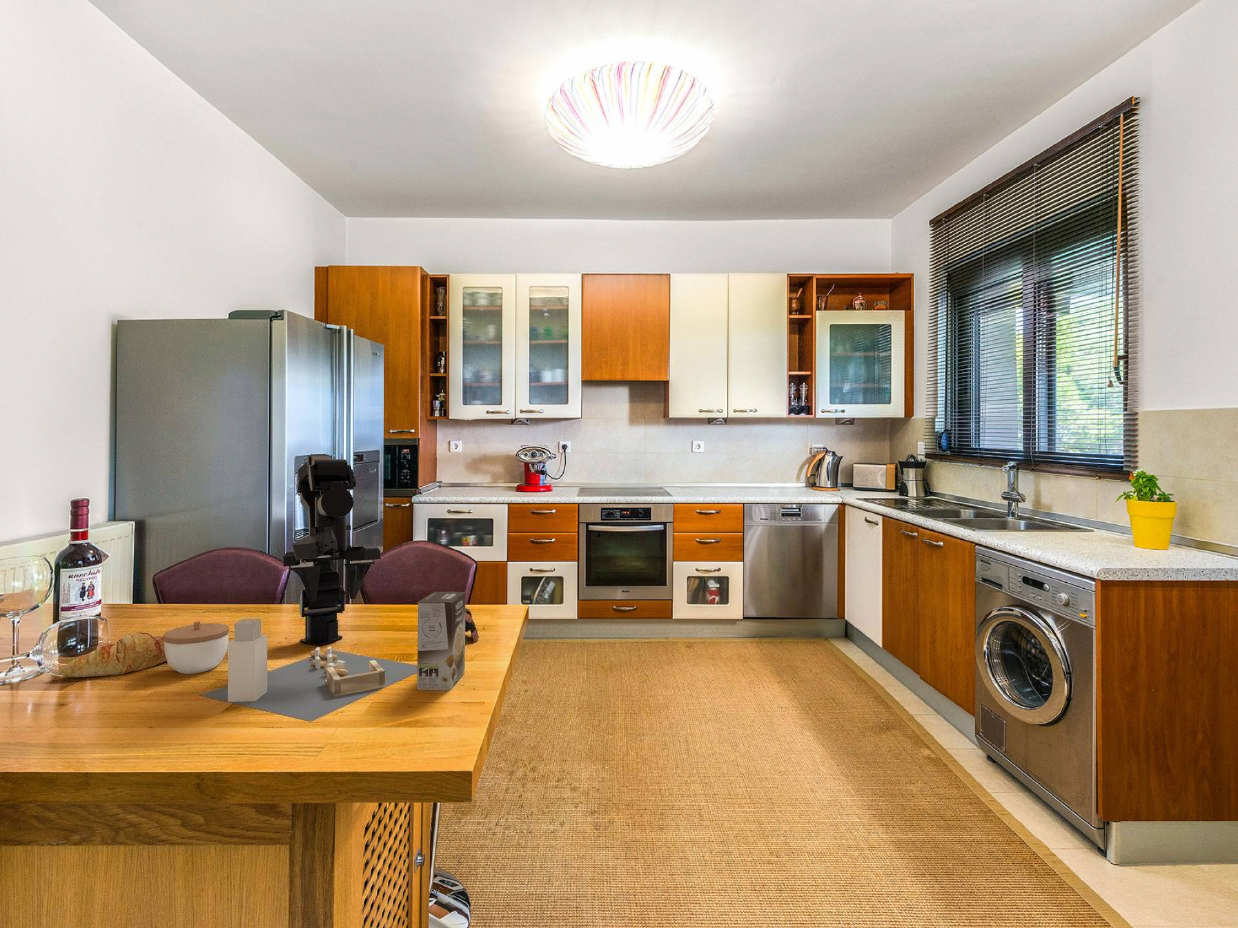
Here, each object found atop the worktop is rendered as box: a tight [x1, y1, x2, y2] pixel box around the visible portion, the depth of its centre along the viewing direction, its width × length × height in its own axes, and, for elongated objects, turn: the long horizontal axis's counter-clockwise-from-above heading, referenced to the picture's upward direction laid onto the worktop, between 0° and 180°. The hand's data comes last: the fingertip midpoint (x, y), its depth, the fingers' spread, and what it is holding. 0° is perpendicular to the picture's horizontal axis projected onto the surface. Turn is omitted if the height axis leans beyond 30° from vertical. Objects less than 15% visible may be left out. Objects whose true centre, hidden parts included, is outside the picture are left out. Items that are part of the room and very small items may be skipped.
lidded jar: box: [162, 620, 230, 675], centre depth 125 cm, size 11×11×9 cm
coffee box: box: [416, 591, 467, 691], centre depth 120 cm, size 9×6×16 cm
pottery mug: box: [465, 607, 480, 644], centre depth 148 cm, size 12×10×8 cm
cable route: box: [309, 646, 348, 676], centre depth 127 cm, size 16×5×2 cm, turn 34°
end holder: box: [326, 660, 386, 696], centre depth 118 cm, size 8×8×3 cm
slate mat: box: [199, 649, 417, 723], centre depth 119 cm, size 26×28×1 cm
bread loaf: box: [57, 631, 167, 678], centre depth 127 cm, size 21×10×8 cm, turn 140°
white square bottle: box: [227, 618, 268, 703], centre depth 111 cm, size 4×4×13 cm
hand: (332, 600), depth 128 cm, fingers open, 9 cm apart
